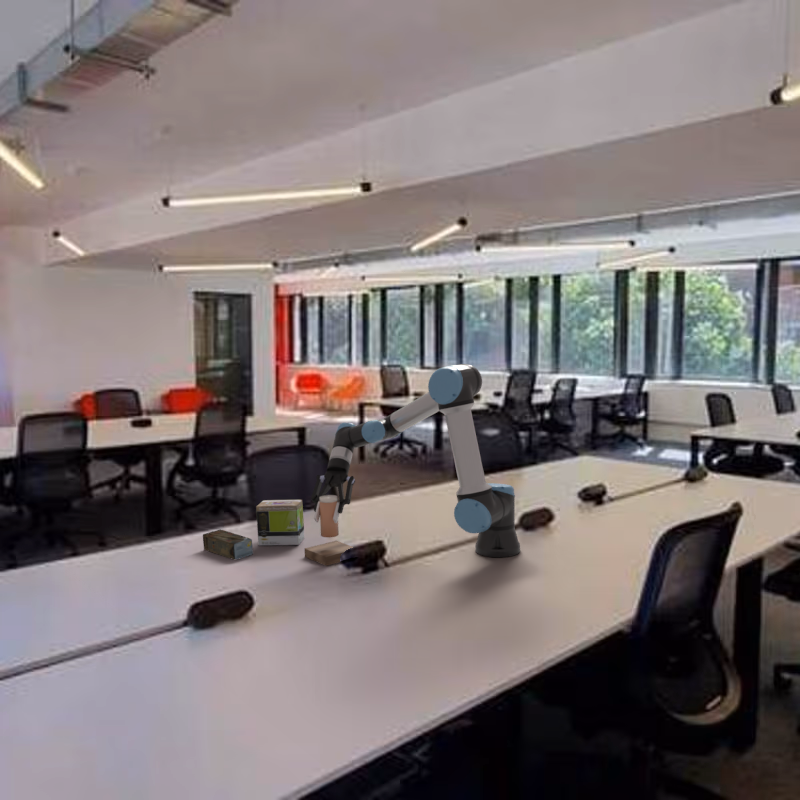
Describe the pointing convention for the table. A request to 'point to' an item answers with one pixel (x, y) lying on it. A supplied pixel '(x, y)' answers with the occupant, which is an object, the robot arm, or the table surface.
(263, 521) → the tea box
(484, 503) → the robot arm
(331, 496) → the terracotta canister
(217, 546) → the beverage carton
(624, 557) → the table surface
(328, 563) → the wooden square slab
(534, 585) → the table surface
